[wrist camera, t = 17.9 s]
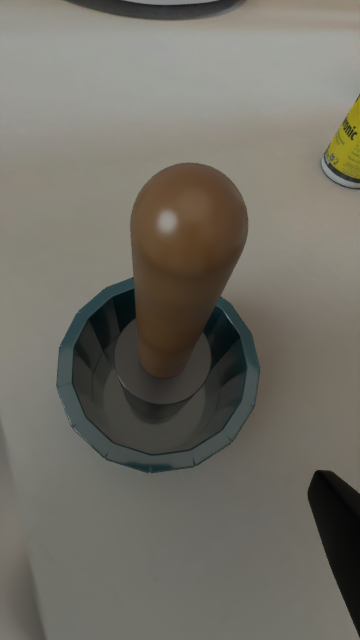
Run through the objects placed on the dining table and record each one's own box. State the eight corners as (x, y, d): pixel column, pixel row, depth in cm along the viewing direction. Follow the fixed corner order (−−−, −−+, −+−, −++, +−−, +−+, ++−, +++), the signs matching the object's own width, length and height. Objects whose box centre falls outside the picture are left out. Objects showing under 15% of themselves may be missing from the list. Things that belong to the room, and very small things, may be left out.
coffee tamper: (191, 420, 15) (368, 320, 3) (117, 415, 14) (2, 282, 3) (193, 350, 17) (312, 117, 5) (127, 345, 16) (82, 79, 4)
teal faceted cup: (120, 498, 13) (108, 524, 9) (61, 352, 16) (29, 316, 12) (254, 413, 16) (297, 399, 11) (184, 299, 19) (196, 252, 14)
